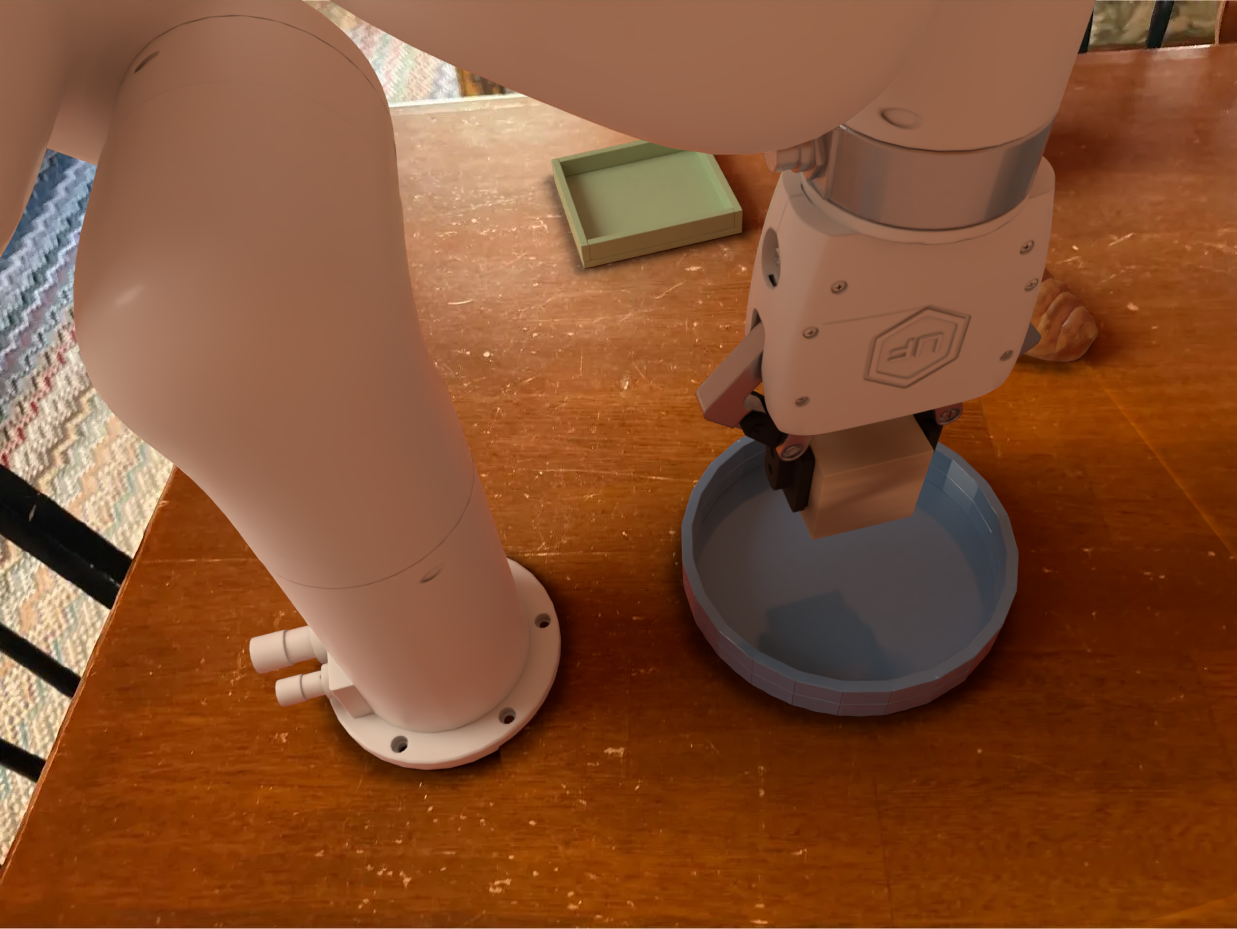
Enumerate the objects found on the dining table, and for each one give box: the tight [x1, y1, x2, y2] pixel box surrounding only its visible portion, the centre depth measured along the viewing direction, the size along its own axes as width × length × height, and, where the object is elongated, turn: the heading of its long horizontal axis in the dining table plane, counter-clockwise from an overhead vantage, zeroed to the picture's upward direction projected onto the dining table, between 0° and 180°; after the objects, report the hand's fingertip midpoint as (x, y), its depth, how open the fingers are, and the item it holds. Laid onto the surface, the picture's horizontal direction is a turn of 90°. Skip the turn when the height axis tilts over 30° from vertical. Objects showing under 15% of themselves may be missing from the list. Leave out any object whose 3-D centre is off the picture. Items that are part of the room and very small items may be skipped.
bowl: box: [680, 435, 1020, 717], centre depth 51 cm, size 17×17×4 cm
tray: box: [550, 139, 744, 269], centre depth 72 cm, size 12×11×2 cm
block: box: [800, 414, 934, 540], centre depth 43 cm, size 5×5×5 cm
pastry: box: [1023, 266, 1099, 363], centre depth 61 cm, size 9×7×4 cm
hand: (846, 471), depth 44 cm, fingers closed on block, 5 cm apart
